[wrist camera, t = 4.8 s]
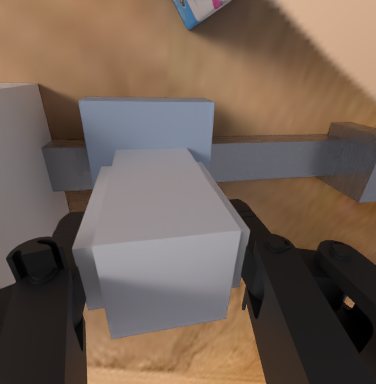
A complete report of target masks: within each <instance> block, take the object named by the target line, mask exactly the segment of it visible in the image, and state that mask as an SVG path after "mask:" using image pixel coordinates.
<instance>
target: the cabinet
mask: <svg viewBox="0 0 376 384" xmlns="http://www.w3.org/2000/svg"><path fill="white" fill-rule="evenodd" d="M51 140H52V139H51V135H50V131H49V127H48V123H47V119H46V115H45V111H44V107H43V103H42V99H41V95H40V91H39V87H38V84H35V83H0V289H1V288H4V287H6V286H9V285H11V284H14V283H15V282H16V280H15V278H14V276H13V274H12V272H11V269H10V267H9V265H8V263H7V261H6V257H7V256H8V254H9V253H10V251H12V250H13V249H14V248H15V247H17V246H18V245H20V244H22V243H24V242H26V241H28V240H31V239H34V238H38V237H46V236H50V237H52V234H53V232H54V230H56V226H57V225H58V223H59V221H60V219H62V218H63V217H64V216H65V215H66V214H68V213H70V211H69V207H68V203H67V199H66V195H65V191H58V192H53V189H52V186H51V182H50V178H49V175H48V171H47V168H46V164H45V160H44V157H43V153H42V149H41V148H42V147H44V146H45V145H46V144H47V143H48V142H50V141H51Z"/></svg>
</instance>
